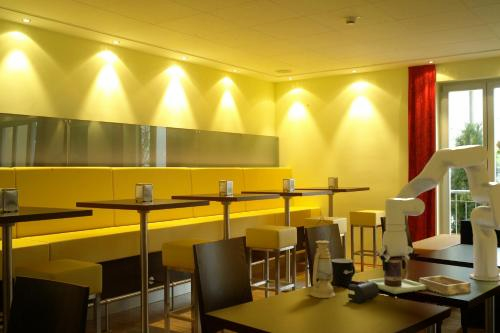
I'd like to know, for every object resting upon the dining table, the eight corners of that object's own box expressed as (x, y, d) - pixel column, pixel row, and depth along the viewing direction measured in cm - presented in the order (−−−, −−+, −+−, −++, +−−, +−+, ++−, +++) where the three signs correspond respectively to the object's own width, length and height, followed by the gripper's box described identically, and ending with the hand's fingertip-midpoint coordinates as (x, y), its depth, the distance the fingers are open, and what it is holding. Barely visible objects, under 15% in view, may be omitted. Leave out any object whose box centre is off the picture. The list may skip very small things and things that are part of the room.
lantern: (321, 290, 201) (321, 215, 201) (342, 294, 194) (341, 216, 194) (302, 295, 192) (301, 217, 192) (323, 300, 185) (322, 219, 185)
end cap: (363, 305, 177) (363, 286, 177) (347, 302, 183) (347, 283, 183) (379, 300, 184) (379, 282, 184) (363, 297, 189) (363, 279, 189)
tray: (397, 280, 216) (397, 276, 216) (426, 289, 200) (426, 285, 200) (366, 284, 210) (366, 280, 210) (394, 293, 194) (394, 289, 194)
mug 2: (380, 285, 206) (380, 255, 206) (389, 282, 211) (389, 253, 211) (403, 289, 199) (402, 258, 199) (412, 286, 203) (411, 256, 204)
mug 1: (343, 288, 204) (343, 263, 204) (327, 284, 211) (326, 260, 211) (362, 284, 211) (362, 260, 211) (346, 280, 218) (346, 257, 218)
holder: (442, 283, 210) (441, 275, 210) (470, 291, 196) (470, 282, 196) (419, 286, 205) (419, 278, 205) (446, 294, 191) (446, 285, 191)
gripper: (406, 226, 212) (406, 266, 212) (372, 228, 205) (372, 270, 205) (418, 228, 205) (418, 270, 205) (383, 230, 198) (384, 273, 198)
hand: (395, 270), depth 205 cm, fingers open, 9 cm apart
